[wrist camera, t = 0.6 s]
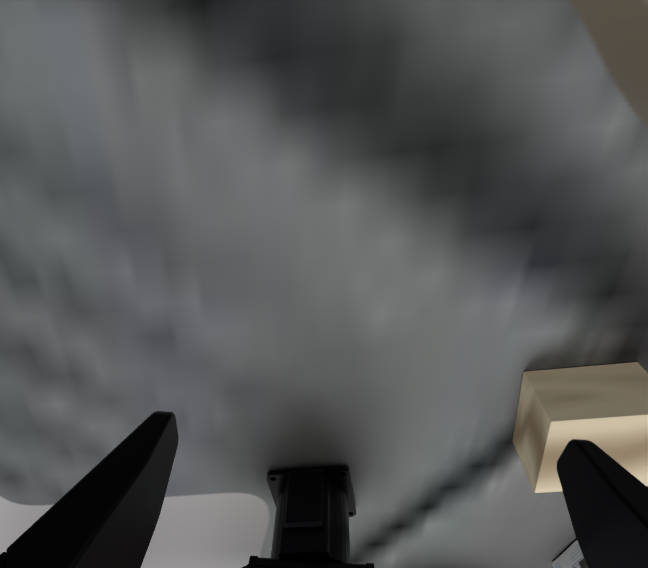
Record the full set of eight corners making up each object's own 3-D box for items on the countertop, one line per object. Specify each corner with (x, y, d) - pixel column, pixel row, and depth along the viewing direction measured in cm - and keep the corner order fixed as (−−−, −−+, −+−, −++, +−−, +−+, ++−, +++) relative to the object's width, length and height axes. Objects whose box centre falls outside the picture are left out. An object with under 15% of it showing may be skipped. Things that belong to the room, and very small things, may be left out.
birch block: (612, 433, 30) (647, 486, 27) (512, 441, 31) (534, 492, 27) (637, 361, 26) (682, 411, 23) (523, 371, 27) (551, 421, 24)
